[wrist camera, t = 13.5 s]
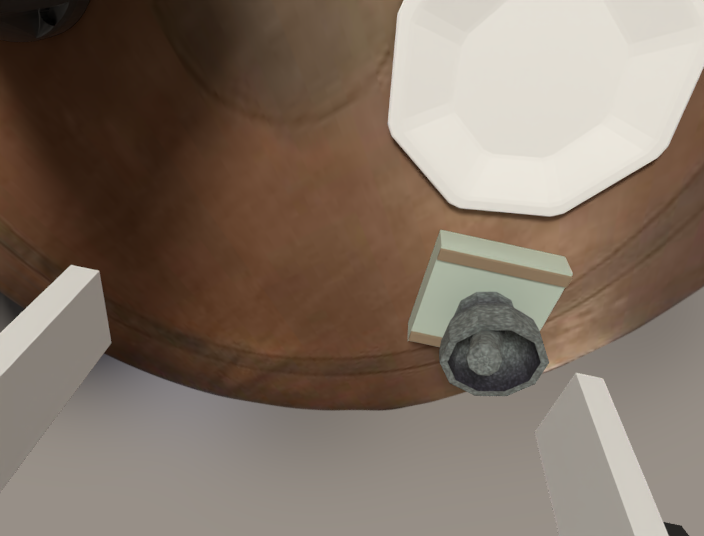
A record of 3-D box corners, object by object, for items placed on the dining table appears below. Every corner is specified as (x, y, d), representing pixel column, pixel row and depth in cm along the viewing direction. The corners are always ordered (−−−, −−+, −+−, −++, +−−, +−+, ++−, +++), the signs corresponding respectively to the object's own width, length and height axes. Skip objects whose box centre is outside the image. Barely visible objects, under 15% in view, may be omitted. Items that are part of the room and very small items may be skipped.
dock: (408, 322, 55) (407, 342, 53) (440, 229, 48) (441, 247, 45) (515, 345, 56) (520, 366, 53) (564, 256, 48) (573, 275, 45)
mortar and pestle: (540, 336, 51) (570, 433, 41) (455, 355, 54) (463, 449, 44) (515, 254, 45) (543, 342, 35) (422, 280, 48) (423, 368, 38)
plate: (627, 217, 45) (633, 225, 44) (381, 194, 47) (380, 201, 46) (763, -94, 32) (777, -95, 30) (408, -111, 33) (408, -112, 32)
